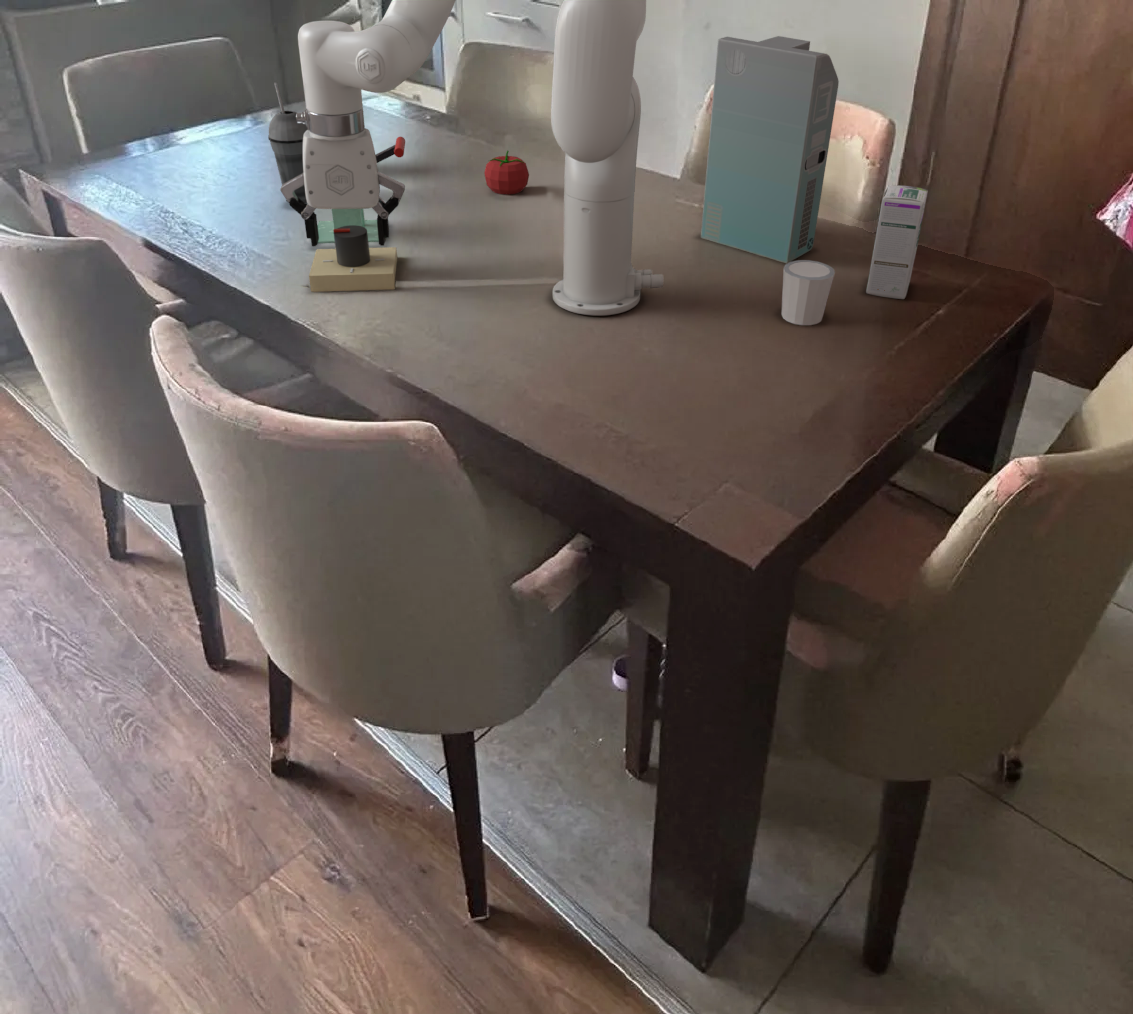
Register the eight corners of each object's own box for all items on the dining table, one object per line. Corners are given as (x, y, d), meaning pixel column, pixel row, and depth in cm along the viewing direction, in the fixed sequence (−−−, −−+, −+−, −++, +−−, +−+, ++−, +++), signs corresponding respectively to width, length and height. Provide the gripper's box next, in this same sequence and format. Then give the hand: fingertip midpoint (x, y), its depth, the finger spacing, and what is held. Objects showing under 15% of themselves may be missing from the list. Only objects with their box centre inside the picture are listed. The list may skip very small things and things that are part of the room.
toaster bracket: (387, 226, 168) (379, 154, 161) (383, 247, 161) (376, 172, 154) (319, 228, 167) (309, 155, 160) (313, 248, 160) (302, 173, 153)
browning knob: (371, 254, 152) (367, 222, 149) (369, 266, 148) (365, 234, 145) (338, 254, 152) (334, 223, 149) (335, 267, 148) (331, 235, 145)
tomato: (519, 204, 177) (518, 159, 173) (478, 198, 179) (476, 154, 175) (535, 189, 183) (535, 146, 179) (495, 184, 185) (493, 141, 181)
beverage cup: (312, 213, 173) (294, 90, 161) (272, 210, 174) (251, 87, 162) (328, 198, 179) (312, 79, 167) (289, 195, 180) (271, 76, 168)
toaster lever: (408, 146, 159) (400, 132, 158) (407, 157, 155) (399, 143, 153) (341, 180, 162) (333, 166, 160) (338, 192, 157) (329, 178, 155)
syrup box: (905, 300, 146) (927, 201, 138) (863, 294, 148) (882, 195, 139) (909, 285, 151) (930, 188, 142) (868, 279, 152) (887, 183, 144)
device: (813, 249, 161) (845, 47, 144) (788, 264, 157) (817, 56, 139) (726, 224, 170) (746, 30, 152) (699, 237, 165) (717, 38, 148)
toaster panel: (397, 262, 156) (396, 246, 154) (394, 289, 148) (393, 272, 146) (318, 264, 155) (316, 248, 153) (311, 292, 147) (308, 274, 145)
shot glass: (816, 331, 138) (824, 283, 134) (769, 319, 141) (775, 271, 137) (833, 313, 143) (842, 266, 138) (787, 302, 145) (794, 255, 141)
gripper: (267, 130, 134) (285, 253, 145) (399, 130, 136) (407, 251, 146) (275, 114, 140) (292, 233, 151) (401, 114, 142) (409, 232, 152)
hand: (348, 242), depth 148 cm, fingers open, 9 cm apart
